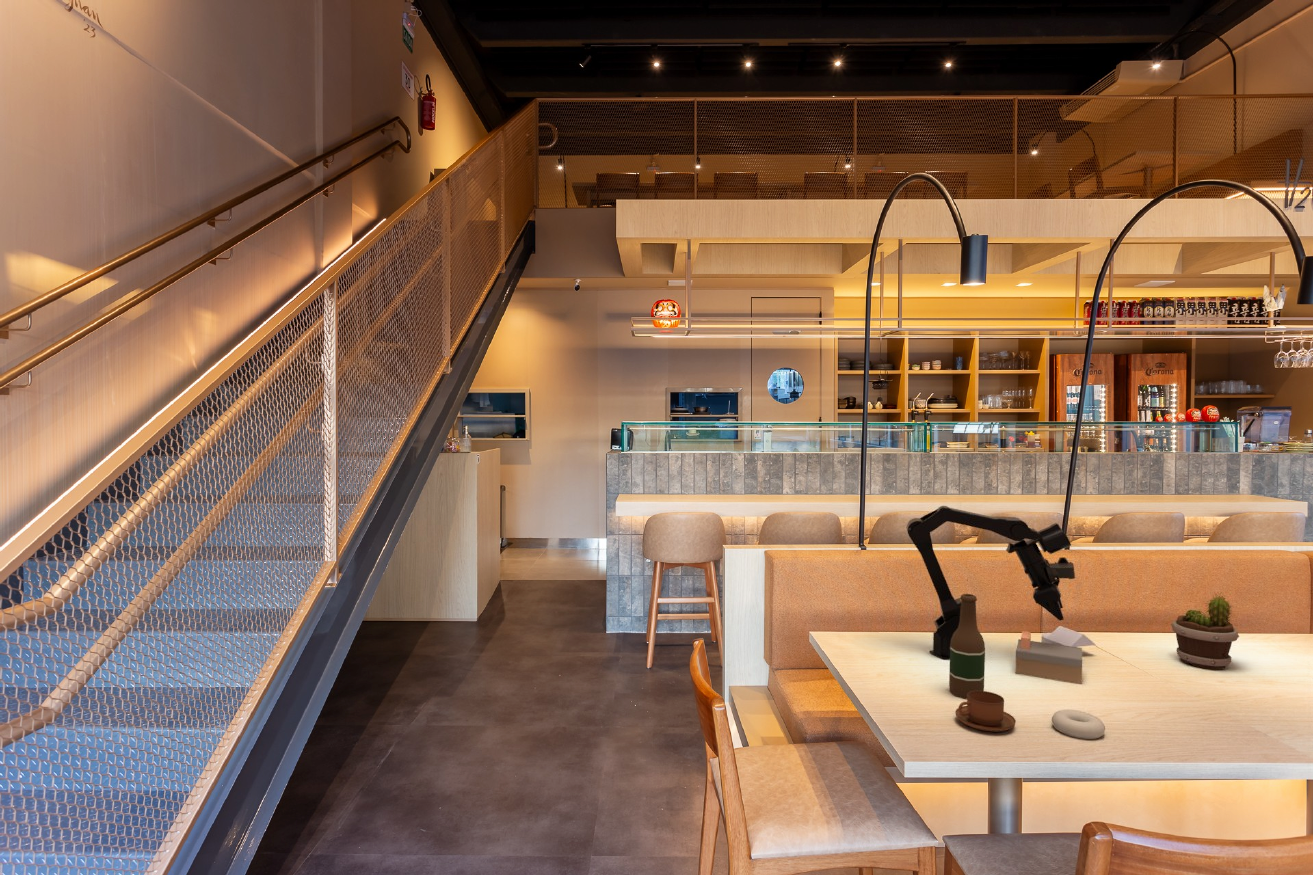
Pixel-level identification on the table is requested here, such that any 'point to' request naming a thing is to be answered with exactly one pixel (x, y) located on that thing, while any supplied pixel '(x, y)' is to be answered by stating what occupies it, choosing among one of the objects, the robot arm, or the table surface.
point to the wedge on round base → (1066, 638)
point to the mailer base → (1049, 670)
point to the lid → (1048, 652)
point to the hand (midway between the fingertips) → (1061, 613)
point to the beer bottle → (967, 652)
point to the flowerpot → (1206, 635)
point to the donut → (1078, 724)
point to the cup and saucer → (985, 712)
